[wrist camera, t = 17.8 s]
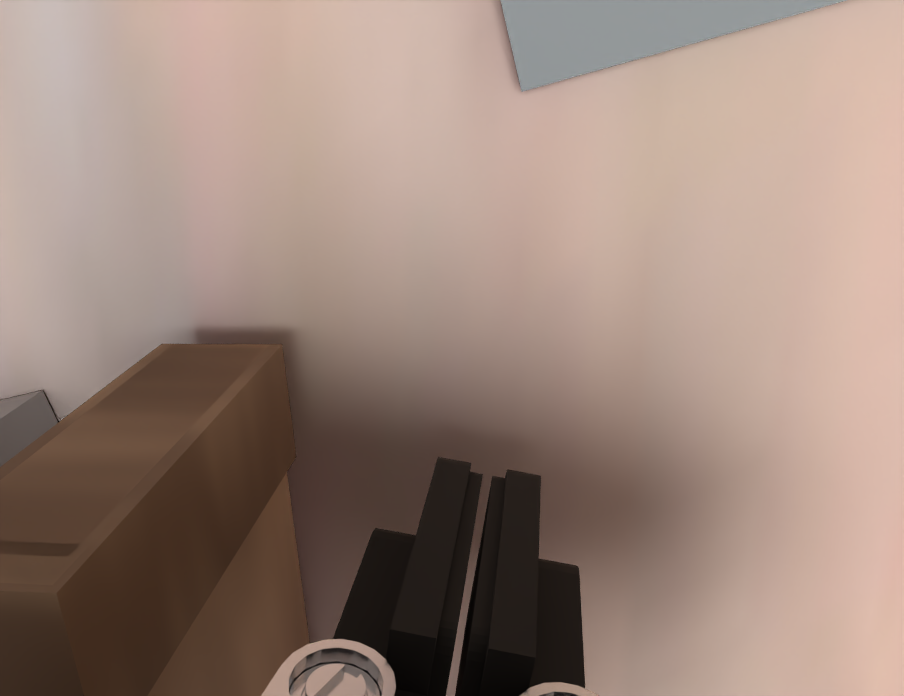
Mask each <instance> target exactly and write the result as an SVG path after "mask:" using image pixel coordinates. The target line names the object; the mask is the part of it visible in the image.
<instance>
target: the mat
mask: <svg viewBox="0 0 904 696" xmlns="http://www.w3.org/2000/svg"><path fill="white" fill-rule="evenodd" d="M843 1H846V0H501V5H502V9H503V13H504V18H505V22H506V26H507V30H508V35H509V39H510V43H511V48H512V52H513V56H514V61H515V65H516V69H517V73H518V78H519V82H520V86H521V91H526V90H530V89H533V88H537V87H540V86H544V85H547V84H551V83H554V82H558V81H562V80H565V79H569V78H572V77H576V76H579V75H583V74H587V73H590V72H594V71H597V70H601V69H604V68H608V67H611V66H615V65H619V64H622V63H626V62H629V61H633V60H636V59H640V58H643V57H647V56H651V55H654V54H658V53H661V52H665V51H668V50H672V49H675V48H679V47H683V46H686V45H690V44H693V43H697V42H700V41H704V40H708V39H711V38H715V37H718V36H722V35H725V34H729V33H732V32H736V31H740V30H743V29H747V28H750V27H754V26H757V25H761V24H764V23H768V22H772V21H775V20H779V19H782V18H786V17H789V16H793V15H796V14H800V13H804V12H807V11H811V10H814V9H818V8H821V7H825V6H828V5H832V4H836V3H839V2H843Z"/></svg>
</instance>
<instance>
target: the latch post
mask: <svg viewBox="0 0 904 696" xmlns="http://www.w3.org/2000/svg"><path fill="white" fill-rule="evenodd" d="M57 423H58V421H57V419H56V417H55V415H54V413H53V411H52V409H51V407H50V405H49V403H48V401H47V399H46V396H45V394H44V392H43V390H42V391H37V392H33V393H29V394H24V395H20V396H16V397H11V398H7V399H3V400H0V467H1V466H2V465H3V464H5V463H6V462H7V461H9V460H10V459H11V458H13V457H14V456H15V455H16V454H18V453H19V452H20V451H22V450H23V449H24V448H26V447H27V446H28V445H30V444H31V443H32V442H34V441H35V440H36V439H37V438H39V437H40V436H41V435H43V434H44V433H45V432H47V431H48V430H49V429H51V428H52V427H53V426H55V425H56V424H57Z"/></svg>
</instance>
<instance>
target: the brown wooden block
mask: <svg viewBox="0 0 904 696" xmlns="http://www.w3.org/2000/svg"><path fill="white" fill-rule="evenodd" d="M295 458H296V450H295V442H294V434H293V426H292V418H291V410H290V402H289V395H288V387H287V379H286V371H285V363H284V355H283V348H282V344H161V345H160V346H158V347H157V348H156V349H154V350H153V351H152V352H150V353H149V354H148V355H146V356H145V357H144V358H143V359H141V360H140V361H139V362H137V363H136V364H135V365H133V366H132V367H131V368H129V369H128V370H127V371H125V372H124V373H123V374H122V375H120V376H119V377H118V378H116V379H115V380H114V381H112V382H111V383H110V384H108V385H107V386H106V387H104V388H103V389H102V390H101V391H99V392H98V393H97V394H95V395H94V396H93V397H91V398H90V399H89V400H87V401H86V402H85V403H83V404H82V405H81V406H80V407H78V408H77V409H76V410H74V411H73V412H72V413H70V414H69V415H68V416H66V417H65V418H64V419H62V420H61V421H60V422H59V423H57V424H56V425H55V426H53V427H52V428H51V429H49V430H48V431H47V432H45V433H44V434H43V435H41V436H40V437H39V438H37V439H36V440H35V441H34V442H32V443H31V444H30V445H28V446H27V447H26V448H24V449H23V450H22V451H20V452H19V453H18V454H16V455H15V456H14V457H13V458H11V459H10V460H9V461H7V462H6V463H5V464H3V465H2V466H1V467H0V696H261V695H262V694H263V692H264V691H265V689H266V688H267V686H268V684H269V683H270V681H271V680H272V678H273V677H274V675H275V674H276V672H277V671H278V669H279V668H280V666H281V665H282V664H283V663H284V662H285V660H286V659H287V658H288V657H289V656H290V655H291V654H292V653H293V652H295V651H297V650H298V649H300V648H302V647H304V646H305V645H307V644H310V641H309V634H308V627H307V619H306V612H305V604H304V597H303V589H302V582H301V574H300V567H299V559H298V552H297V544H296V537H295V529H294V522H293V514H292V507H291V499H290V492H289V484H288V477H287V471H288V470H289V468H290V466H291V465H292V463H293V462H294V460H295Z"/></svg>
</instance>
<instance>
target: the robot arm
mask: <svg viewBox="0 0 904 696" xmlns="http://www.w3.org/2000/svg"><path fill="white" fill-rule="evenodd" d="M470 467H471V463H468V462H462V461H457V460H451V459H446V458H440V457H438V459H437V462H436V466H435V470H434V473H433V477H432V480H431V484H430V488H429V491H428V495H427V498H426V502H425V505H424V509H423V513H422V516H421V520H420V523H419V527H418V530H417V534H416V536H415V535H410V534H405V533H399V532H394V531H389V530H384V529H378V528H375V529H374V531H373V533H372V535H371V538H370V540H369V543H368V546H367V548H366V551H365V554H364V557H363V559H362V562H361V565H360V567H359V570H358V573H357V575H356V578H355V581H354V584H353V586H352V589H351V592H350V594H349V597H348V600H347V602H346V605H345V608H344V611H343V613H342V616H341V619H340V621H339V624H338V627H337V629H336V632H335V635H334V638H333V639H327V640H321V641H317V642H314V643H310V644H307V645H305V646H304V647H302V648H300V649H298V650H297V651H295V652H293V653H292V654H291V655H290V656H289V657H288V658H287V659H286V660H285V662H284V663H283V664H282V665H281V666H280V668H279V669H278V671H277V672H276V674H275V675H274V677H273V678H272V680H271V681H270V683H269V684H268V686H267V688H266V689H265V691H264V692H263V694H262V695H261V696H446V691H447V685H448V679H449V674H450V668H451V662H452V656H453V651H454V645H455V639H456V633H457V627H458V621H459V615H460V609H461V603H462V597H463V590H464V584H465V578H466V572H467V566H468V560H469V554H470V548H471V542H472V536H473V530H474V523H475V517H476V511H477V505H478V499H479V493H480V487H481V481H482V475H483V474H478V473H473V472H470ZM540 487H541V476H540V475H534V474H529V473H523V472H518V471H512V470H507V472H506V477H505V478H500V477H495V476H493V477H492V481H491V487H490V492H489V498H488V504H487V509H486V515H485V520H484V526H483V531H482V537H481V542H480V548H479V554H478V559H477V565H476V570H475V576H474V581H473V587H472V592H471V598H470V603H469V609H468V615H467V621H466V627H465V633H464V640H463V646H462V653H461V660H460V666H459V673H458V680H457V686H456V693H455V696H598V695H597V694H596V693H594V692H591V691H589V690H587V689H585V676H584V656H583V636H582V616H581V596H580V576H579V568H578V567H577V566H575V565H570V564H564V563H559V562H554V561H548V560H543V559H538V558H539V522H540Z"/></svg>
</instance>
